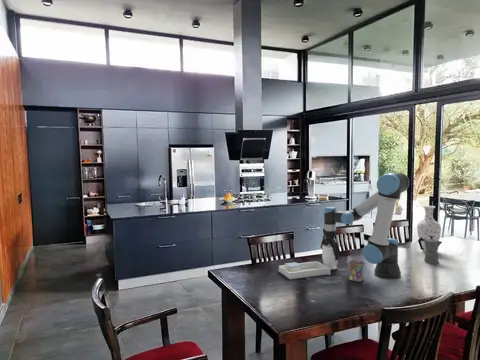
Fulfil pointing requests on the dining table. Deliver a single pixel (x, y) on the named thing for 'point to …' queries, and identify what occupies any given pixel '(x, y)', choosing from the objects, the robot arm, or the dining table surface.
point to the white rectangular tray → (306, 270)
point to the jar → (328, 256)
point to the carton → (292, 269)
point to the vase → (428, 226)
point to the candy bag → (356, 270)
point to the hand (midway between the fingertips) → (329, 261)
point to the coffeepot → (430, 249)
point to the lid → (292, 265)
